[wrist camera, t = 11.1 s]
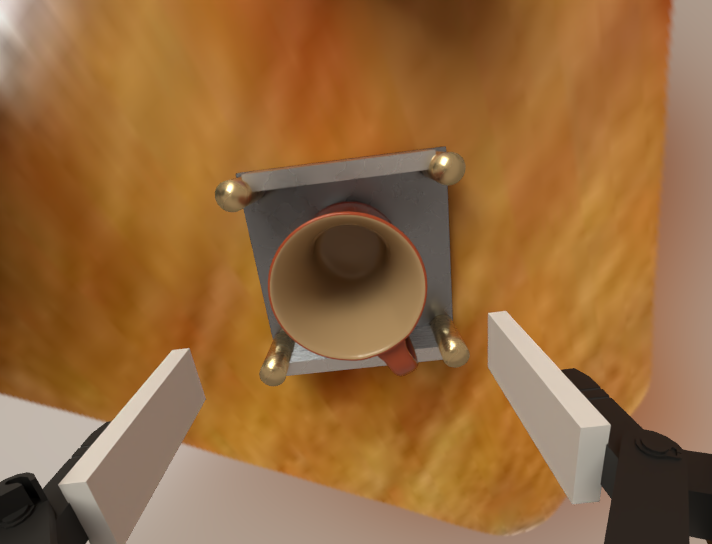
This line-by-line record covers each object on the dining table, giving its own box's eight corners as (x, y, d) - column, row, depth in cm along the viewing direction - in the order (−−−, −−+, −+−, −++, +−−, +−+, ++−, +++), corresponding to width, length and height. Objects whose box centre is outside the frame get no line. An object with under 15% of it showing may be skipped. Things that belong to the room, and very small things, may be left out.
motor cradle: (278, 348, 34) (262, 389, 28) (239, 172, 29) (210, 179, 23) (450, 330, 33) (469, 368, 27) (442, 146, 28) (464, 146, 22)
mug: (275, 226, 29) (234, 267, 19) (368, 166, 27) (375, 178, 18) (354, 339, 32) (353, 422, 23) (441, 291, 31) (480, 358, 21)
